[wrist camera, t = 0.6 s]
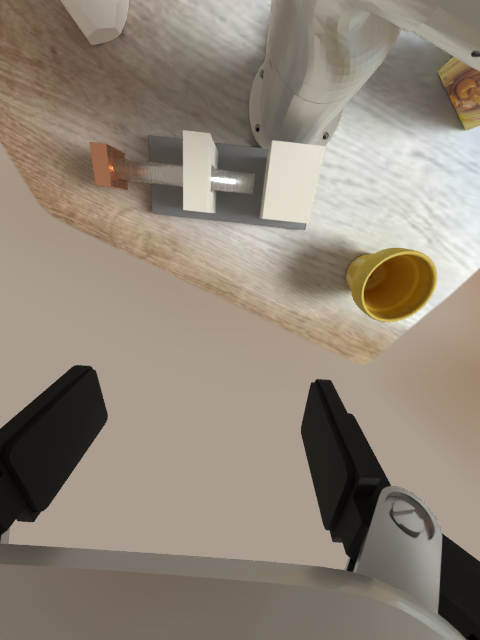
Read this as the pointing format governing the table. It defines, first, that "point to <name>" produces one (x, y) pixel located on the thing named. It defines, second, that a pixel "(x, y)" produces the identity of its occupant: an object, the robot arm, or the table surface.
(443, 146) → the table surface
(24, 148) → the table surface
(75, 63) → the table surface
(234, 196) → the bearing base
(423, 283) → the plant pot
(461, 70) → the candy box
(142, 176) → the shaft
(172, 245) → the table surface
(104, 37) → the crystal
